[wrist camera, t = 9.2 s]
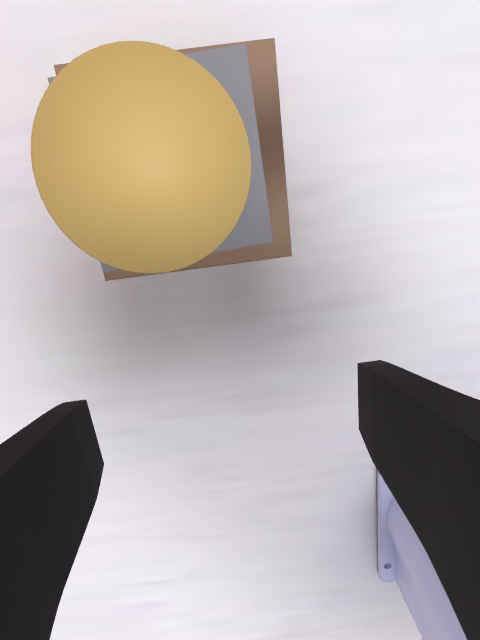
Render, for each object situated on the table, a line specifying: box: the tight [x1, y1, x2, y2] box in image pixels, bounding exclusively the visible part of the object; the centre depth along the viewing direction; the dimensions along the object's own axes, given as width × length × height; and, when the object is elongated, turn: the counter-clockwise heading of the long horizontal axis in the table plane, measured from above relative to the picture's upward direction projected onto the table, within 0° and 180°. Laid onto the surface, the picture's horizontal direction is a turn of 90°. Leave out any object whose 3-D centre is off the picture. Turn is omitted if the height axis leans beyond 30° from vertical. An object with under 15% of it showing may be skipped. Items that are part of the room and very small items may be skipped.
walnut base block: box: [54, 38, 292, 281], centre depth 17 cm, size 8×8×3 cm
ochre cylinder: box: [31, 41, 251, 273], centre depth 11 cm, size 4×4×5 cm
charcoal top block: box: [48, 43, 273, 272], centre depth 15 cm, size 6×6×3 cm
